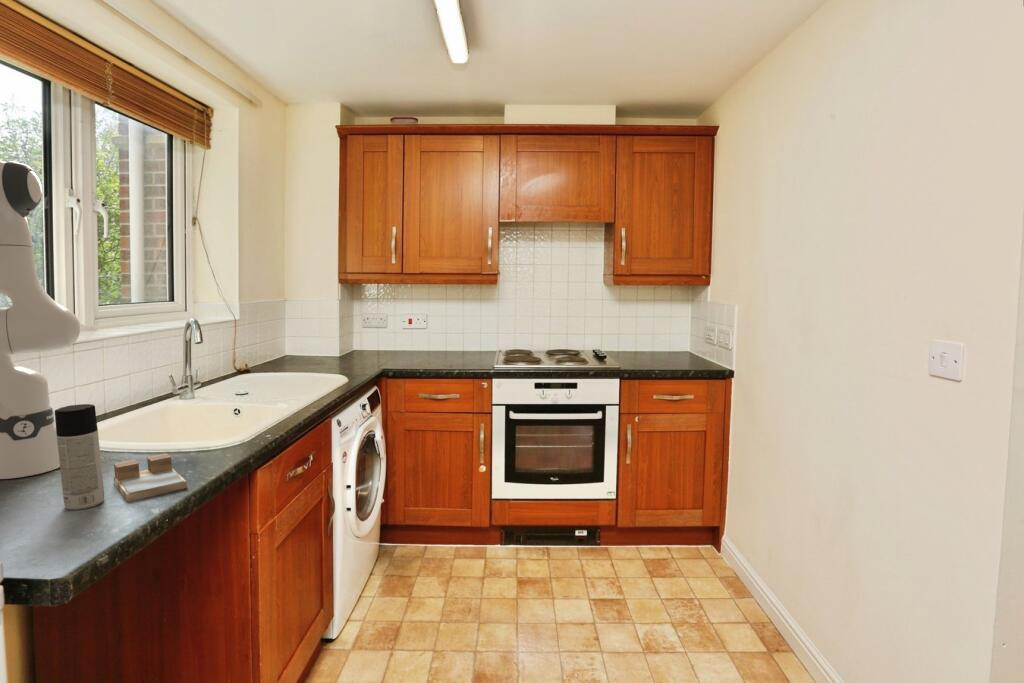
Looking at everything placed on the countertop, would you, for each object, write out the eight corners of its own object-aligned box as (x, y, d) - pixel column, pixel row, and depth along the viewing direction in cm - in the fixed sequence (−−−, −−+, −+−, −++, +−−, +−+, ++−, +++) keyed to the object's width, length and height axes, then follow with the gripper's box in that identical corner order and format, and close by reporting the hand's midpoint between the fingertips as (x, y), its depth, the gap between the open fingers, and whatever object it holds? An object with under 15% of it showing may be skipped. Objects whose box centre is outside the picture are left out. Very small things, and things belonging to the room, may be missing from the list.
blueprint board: (114, 483, 131) (112, 463, 131) (169, 471, 139) (168, 452, 138) (127, 501, 120) (125, 480, 120) (187, 487, 128) (185, 467, 127)
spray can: (112, 497, 123) (103, 403, 120) (90, 510, 116) (80, 410, 114) (79, 498, 122) (69, 403, 120) (55, 511, 116) (44, 411, 113)
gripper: (-51, 356, 94) (32, 405, 103) (-75, 348, 107) (1, 392, 116) (-86, 388, 91) (2, 435, 100) (-107, 376, 104) (-26, 419, 113)
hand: (2, 412), depth 108 cm, fingers open, 8 cm apart
